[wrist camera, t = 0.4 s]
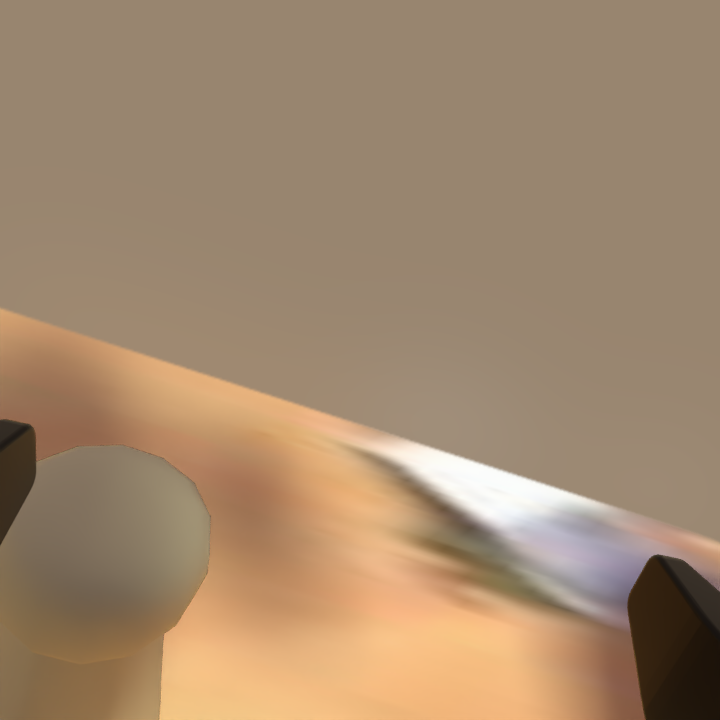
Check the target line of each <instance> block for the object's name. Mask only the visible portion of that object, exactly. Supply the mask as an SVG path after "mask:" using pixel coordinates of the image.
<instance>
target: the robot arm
mask: <svg viewBox="0 0 720 720" xmlns="http://www.w3.org/2000/svg"><path fill="white" fill-rule="evenodd" d="M35 478H36V435H35V430H34V428H33V427H32V426H31V425H30V424H26V423H21V422H16V421H12V420H5V419H3V420H0V546H1V544H2V542H3V540H4V538H5V536H6V535H7V533H8V531H9V529H10V527H11V525H12V524H13V522H14V520H15V518H16V516H17V515H18V513H19V511H20V509H21V507H22V505H23V504H24V502H25V500H26V498H27V496H28V494H29V493H30V491H31V489H32V487H33V484H34V481H35ZM627 608H628V616H629V623H630V629H631V636H632V642H633V649H634V655H635V662H636V668H637V675H638V682H639V688H640V695H641V700H642V705H643V711H644V715H645V719H646V720H720V592H719V591H718V590H717V589H716V588H715V587H714V586H713V585H711V584H710V583H709V582H708V581H707V580H706V579H705V578H703V577H702V576H701V575H700V574H699V573H698V572H697V571H695V570H694V569H693V568H692V567H691V566H690V565H689V564H687V563H686V562H685V561H683V560H681V559H678V558H673V557H668V556H663V555H654V556H652V557H651V558H649V560H648V561H647V563H646V565H645V566H644V568H643V570H642V572H641V574H640V575H639V577H638V579H637V581H636V583H635V584H634V586H633V588H632V590H631V592H630V594H629V597H628V607H627Z"/></svg>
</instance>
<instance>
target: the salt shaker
mask: <svg viewBox="0 0 720 720" xmlns="http://www.w3.org/2000/svg"><path fill="white" fill-rule="evenodd" d="M210 517H211V516H210V514H209V512H208V510H207V508H206V506H205V504H204V502H203V500H202V498H201V496H200V494H199V491H198V489H197V487H196V485H195V483H194V482H193V481H191V480H190V479H189V478H188V477H186V476H185V475H184V474H183V473H181V472H180V471H179V470H177V469H176V468H175V467H174V466H172V465H171V464H170V463H169V462H167V461H166V460H165V459H163V458H161V457H158V456H155V455H152V454H149V453H146V452H143V451H140V450H137V449H134V448H131V447H128V446H125V445H103V446H77V447H75V448H72V449H69V450H67V451H64V452H61V453H58V454H56V455H53V456H50V457H48V458H45V459H42V460H40V461H37V462H36V478H35V481H34V484H33V487H32V489H31V491H30V493H29V494H28V496H27V498H26V500H25V502H24V504H23V505H22V507H21V509H20V511H19V513H18V515H17V516H16V518H15V520H14V522H13V524H12V525H11V527H10V529H9V531H8V533H7V535H6V536H5V538H4V540H3V542H2V544H1V546H0V720H159V715H160V702H161V673H162V656H163V640H164V633H166V632H167V631H169V630H170V629H172V628H173V627H175V626H176V625H177V623H178V621H179V620H180V618H181V616H182V615H183V613H184V612H185V610H186V608H187V607H188V605H189V603H190V602H191V600H192V599H193V597H194V595H195V594H196V592H197V590H198V589H199V587H200V585H201V583H202V582H203V580H204V578H205V576H206V574H207V571H208V563H209V554H210Z"/></svg>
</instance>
